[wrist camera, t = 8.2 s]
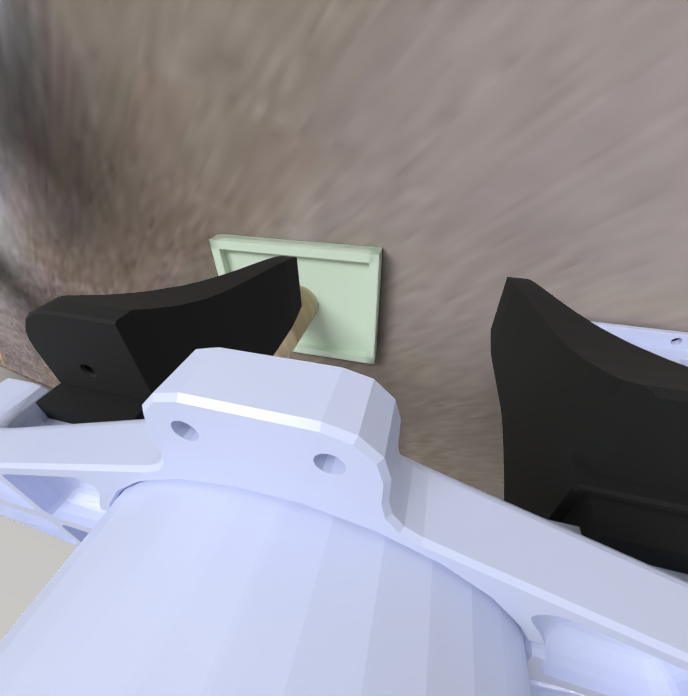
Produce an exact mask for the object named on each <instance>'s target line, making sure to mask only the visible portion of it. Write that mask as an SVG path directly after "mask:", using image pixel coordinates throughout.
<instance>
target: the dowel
mask: <svg viewBox="0 0 688 696" xmlns="http://www.w3.org/2000/svg"><path fill="white" fill-rule="evenodd" d="M300 292H301V301H302V307H301V309H300V312H299V314H298V317H297V319H296V321H295V323H294V325H293V327H292V328H291V330H290V332H289V333H288V335H287V336H286V338H285V339H284V341H283V342H282V344H281V345H280V347H279V348H278V350H277V351H276V353H275V354H274V356H275V357H281V358H288V359H289V357H290V355H291V354H292V352H293V350H294V349H295V347H296V346H297V344H298V342H299V341H300V339H301V337H302V336H303V334H304V333H305V331H306V329H307V328H308V326H309V325H310V323H311V321H312V320H313V318H314V316H315V315H316V313H317V311H318V302H317V299H316V297H315V295H314V294H313V293H312V292H311V291H310V290H309V289H307V288H305V287H303V286H300Z"/></svg>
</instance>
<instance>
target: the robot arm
mask: <svg viewBox="0 0 688 696" xmlns="http://www.w3.org/2000/svg"><path fill="white" fill-rule="evenodd" d="M301 307H302V301H301V292H300V283H299V274H298V264H297V257H290V256H277V257H273V258H269V259H266V260H263V261H260V262H257V263H255V264H252V265H249V266H247V267H244V268H241V269H238V270H235V271H232V272H229V273H226V274H223V275H220V276H217V277H214V278H211V279H208V280H204V281H200V282H196V283H192V284H188V285H183V286H178V287H172V288H166V289H160V290H154V291H146V292H137V293H126V294H111V295H78V296H61V297H58V298H56V299H54V300H52V301H50V302H48V303H46V304H45V305H43V306H41V307H39V308H37V309H35V310H34V311H32V312H30V313H29V314H28V316H27V317H26V332H27V335H28V337H29V340H30V341H31V343H32V344H33V346H34V348H35V349H36V350H37V352H38V353H39V354H40V356H41V357H42V358H43V360H44V361H45V362H46V364H47V365H48V366H49V368H50V369H51V370H52V372H53V373H54V374H55V376H56V377H57V378H58V380H59V381H60V382H62V383H60V384H59V385H58V386H56V387H55V388H54V389H52V390H51V391H50V390H49V389H48V388H46V387H45V386H43V385H40V384H37V383H32V382H28V381H23V380H19V379H14V378H7V379H6V380H4V381H3V382H1V383H0V516H3V517H6V518H8V519H11V520H13V521H16V522H19V523H21V524H24V525H26V526H29V527H31V528H34V529H36V530H39V531H41V532H43V533H46V534H48V535H51V536H53V537H55V538H58V539H60V540H62V541H65V542H67V543H69V544H72V545H74V546H76V547H77V548H76V549H75V551H74V552H73V553H72V554H71V555H70V557H69V558H68V559H67V560H66V561H65V563H64V564H63V565H62V566H61V568H60V569H59V570H58V571H57V573H56V574H55V575H54V576H53V577H52V579H51V580H50V581H49V582H48V583H47V585H46V586H45V587H44V589H42V591H41V592H40V593H39V594H38V596H37V597H36V598H35V599H34V601H33V602H32V603H31V604H30V605H29V607H28V608H27V609H26V610H25V611H24V613H23V614H22V615H21V616H20V618H19V619H18V620H17V621H16V622H15V624H14V625H13V626H12V627H11V629H10V630H9V631H8V632H7V633H6V635H5V636H4V637H3V638H2V640H1V641H0V696H688V333H687V332H679V331H670V330H661V329H653V328H644V327H635V326H627V325H618V324H609V323H601V322H592V321H589V320H587V319H586V318H584V317H583V316H581V315H579V314H578V313H576V312H575V311H573V310H572V309H570V308H569V307H568V306H566V305H565V304H563V303H562V302H561V301H559V300H558V299H556V298H555V297H554V296H552V295H551V294H550V293H548V292H547V291H546V290H544V289H543V288H542V287H540V286H539V285H537V284H536V283H534V282H533V281H531V280H529V279H522V278H511V277H507V280H506V283H505V286H504V289H503V293H502V296H501V299H500V302H499V305H498V309H497V312H496V315H495V318H494V321H493V324H492V328H491V356H492V362H493V368H494V373H495V379H496V384H497V389H498V395H499V400H500V406H501V413H502V425H503V446H504V500H501V499H499V498H497V497H495V496H492V495H490V494H488V493H486V492H483V491H481V490H479V489H476V488H474V487H472V486H470V485H467V484H465V483H463V482H461V481H458V480H456V479H454V478H452V477H449V476H447V475H445V474H443V473H440V472H438V471H436V470H433V469H431V468H429V467H427V466H424V465H422V464H420V463H418V462H415V461H413V460H411V459H409V458H406V457H404V456H402V455H401V454H400V452H399V446H398V440H399V433H400V425H401V419H400V415H399V411H398V407H397V403H396V399H395V398H393V397H392V396H391V395H390V394H389V393H388V392H387V391H386V390H385V389H384V388H383V387H382V386H381V385H380V384H379V383H378V382H377V381H375V380H374V379H372V378H370V377H367V376H364V375H362V374H359V373H356V372H353V371H351V370H348V369H345V368H342V367H336V366H330V365H324V364H318V363H312V362H306V361H300V360H294V359H288V358H281V357H275V356H274V354H275V353H276V351H277V350H278V348H279V347H280V345H281V344H282V342H283V341H284V339H285V338H286V336H287V335H288V333H289V332H290V330H291V328H292V327H293V325H294V323H295V321H296V319H297V317H298V314H299V312H300V309H301ZM675 338H678V339H677V340H675V341H672V340H673V339H675Z"/></svg>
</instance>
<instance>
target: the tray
mask: <svg viewBox="0 0 688 696" xmlns="http://www.w3.org/2000/svg"><path fill="white" fill-rule="evenodd" d="M209 242H210V245H211V249H212V253H213V256H214V260H215V264H216V268H217V271H218V275H219V276H220V275H223V274H226V273H229V272H232V271H235V270H238V269H241V268H244V267H247V266H249V265H252V264H255V263H257V262H260V261H263V260H266V259H269V258H273V257H277V256H290V257H297V264H298V274H299V283H300V286H303V287H305V288H307V289H309V290H310V291H311V292H312V293H313V294H314V295H315V297H316V299H317V302H318V311H317V313H316V315H315V316H314V318H313V320H312V321H311V323H310V325H309V326H308V328H307V329H306V331H305V333H304V334H303V336H302V337H301V339H300V341H299V342H298V344H297V346H296V347H295V349H294V350H293V352H300V353H306V354H312V355H318V356H325V357H331V358H337V359H344V360H350V361H356V362H362V363H369V364H374V361H375V357H376V350H377V333H378V315H379V298H380V281H381V263H382V247H370V246H358V245H346V244H334V243H322V242H310V241H298V240H286V239H274V238H262V237H250V236H238V235H226V234H217V235H216V236H214V237H213V238H211V239H209Z"/></svg>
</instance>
